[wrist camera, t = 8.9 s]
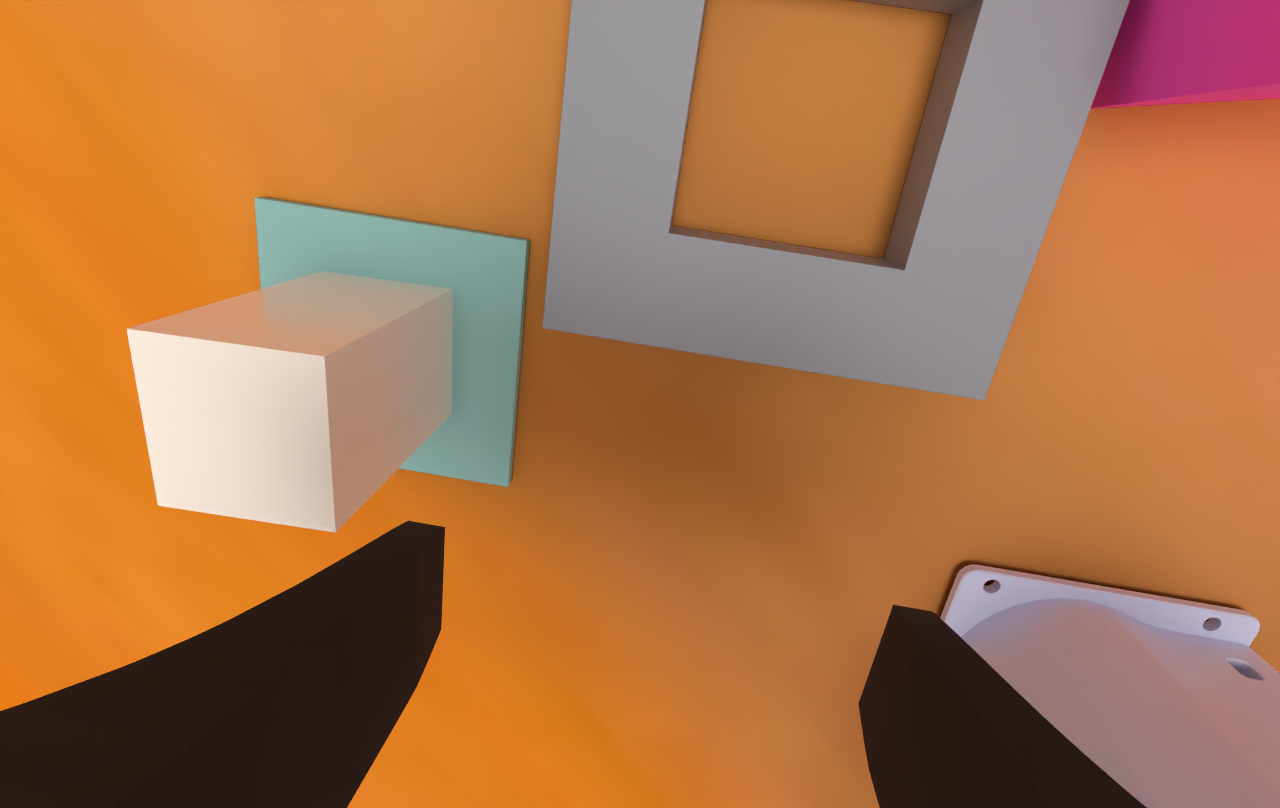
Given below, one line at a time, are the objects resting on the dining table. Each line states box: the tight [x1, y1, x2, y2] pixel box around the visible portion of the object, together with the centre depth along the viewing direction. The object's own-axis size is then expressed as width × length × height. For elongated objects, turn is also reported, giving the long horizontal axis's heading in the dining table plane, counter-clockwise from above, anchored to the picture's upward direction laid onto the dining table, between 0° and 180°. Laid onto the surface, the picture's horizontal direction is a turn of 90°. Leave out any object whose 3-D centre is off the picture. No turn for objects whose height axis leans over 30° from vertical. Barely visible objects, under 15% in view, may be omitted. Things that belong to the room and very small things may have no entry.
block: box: [127, 271, 453, 533], centre depth 17 cm, size 4×4×7 cm
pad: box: [255, 197, 530, 487], centre depth 20 cm, size 8×8×1 cm
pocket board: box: [542, 0, 1130, 400], centre depth 16 cm, size 12×12×2 cm
